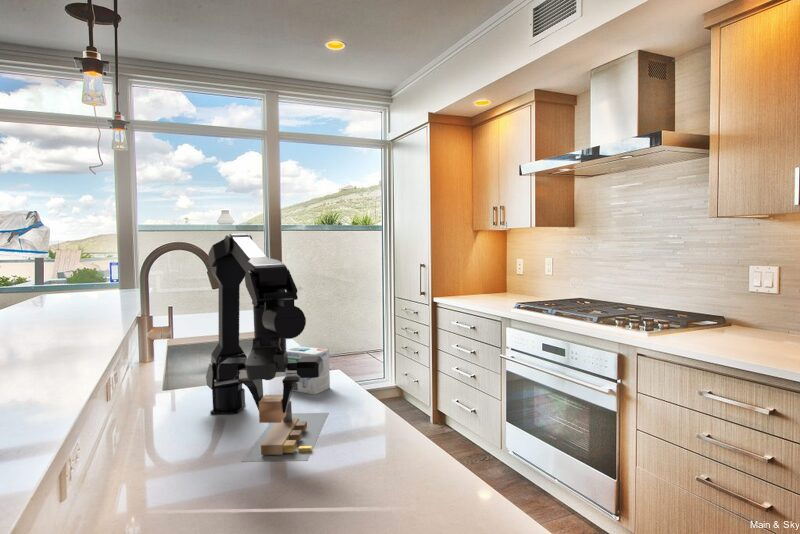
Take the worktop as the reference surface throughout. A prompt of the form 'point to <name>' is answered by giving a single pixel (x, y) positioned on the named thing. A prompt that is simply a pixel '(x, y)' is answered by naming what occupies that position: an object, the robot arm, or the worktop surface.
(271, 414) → the yellow-striped wooden block
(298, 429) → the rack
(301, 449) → the pointer
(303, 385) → the light bulb box
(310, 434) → the base plate
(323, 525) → the worktop surface
